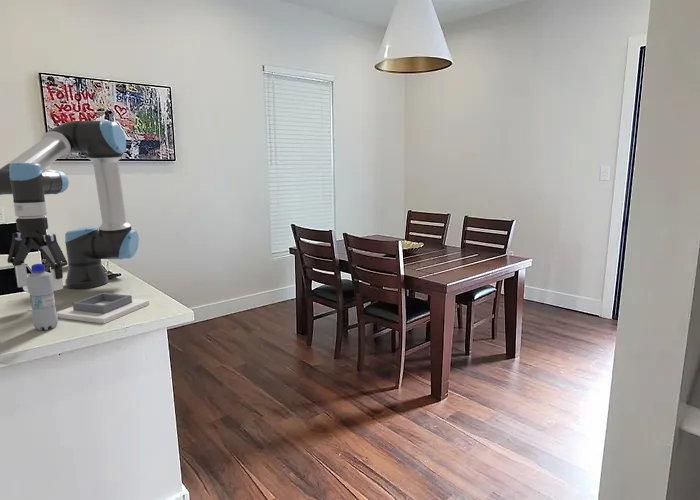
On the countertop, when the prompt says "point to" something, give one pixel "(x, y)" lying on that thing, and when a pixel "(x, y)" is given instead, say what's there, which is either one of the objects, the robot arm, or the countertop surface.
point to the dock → (102, 308)
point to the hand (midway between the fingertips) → (40, 288)
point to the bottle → (42, 298)
